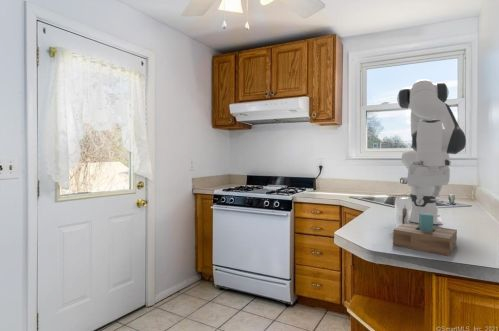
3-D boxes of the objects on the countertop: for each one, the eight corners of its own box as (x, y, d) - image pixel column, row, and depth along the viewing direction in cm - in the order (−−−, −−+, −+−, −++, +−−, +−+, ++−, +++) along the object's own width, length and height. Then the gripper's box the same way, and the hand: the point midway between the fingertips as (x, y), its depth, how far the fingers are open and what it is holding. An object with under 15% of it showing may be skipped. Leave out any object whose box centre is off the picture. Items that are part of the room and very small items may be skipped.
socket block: (405, 236, 129) (406, 222, 129) (456, 245, 117) (456, 229, 117) (392, 245, 116) (393, 229, 115) (448, 256, 104) (449, 238, 104)
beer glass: (390, 228, 142) (391, 197, 142) (401, 228, 145) (403, 196, 144) (402, 232, 136) (404, 199, 135) (414, 231, 138) (415, 198, 138)
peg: (418, 243, 119) (419, 212, 119) (429, 244, 118) (430, 213, 117) (420, 245, 115) (421, 214, 115) (432, 247, 114) (433, 215, 114)
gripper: (418, 161, 108) (417, 200, 108) (453, 161, 117) (452, 197, 117) (403, 161, 114) (402, 198, 114) (437, 161, 123) (436, 195, 123)
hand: (428, 197), depth 116 cm, fingers open, 8 cm apart
